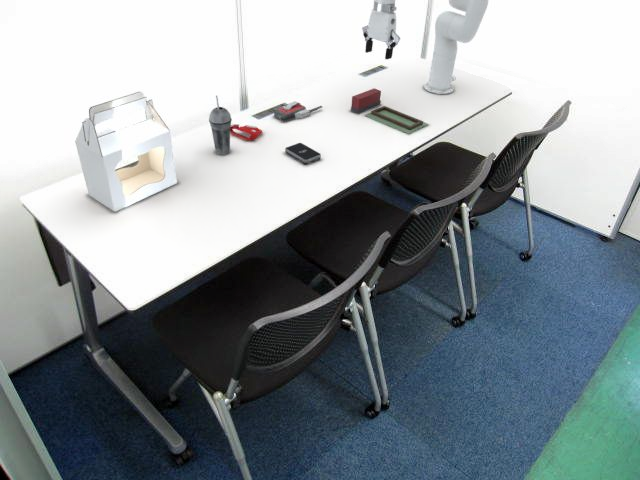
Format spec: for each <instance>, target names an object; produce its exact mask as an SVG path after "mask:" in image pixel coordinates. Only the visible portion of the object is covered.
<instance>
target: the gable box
mask: <svg viewBox="0 0 640 480" xmlns="http://www.w3.org/2000/svg"><path fill="white" fill-rule="evenodd" d="M147 98H148V97H147V96H145V93H143V92H142V91H136V92H134V93H130V94H127V95H124V96H121V97H117V98H115V99H111V100H108V101H105V102H102V103H99V104H95V105H93V106H92V105H91V106H90V107H89V109H88V117H89V118H85V119H84V120H83V121H81V123H82V125H81V127H80V129H79V131H78V133H77V136H76V138H75V141H74V142H75V146H76V151H77V155H78V158H79V162H80V166H81V167H80V168H81V170H82V174H83V179H84V182H85V185H86V190H87V194H88V196H89V197H91V198H92V199H94V200H96V201H97V202H99V203H100V204H102V205H104V207H106V208H108V209H109V210H111V211H112V212H114V213H115V212H116V213H117V212H118V211H120V210H123V209H125V208H127V207H129V206H131V205H133V204H135V203H138V202H140V201H142V200H144V199H147V198H148V197H151V196H153V195H155V194H157V193H159V192H162V191H164V190H166V189H168V188H170V187H172V186H174V185H177V184H178V180H177V179H178V178H177V172H176V164H175V157H174V150H173V144H172V143H173V141H172V136H171V130H170V129H169V127H168V126H167V124H166V123H165V121H164V120H163V119H162V117H161V116H160V114H159V113H158V111H157V110H156V109H155V106H154V101H153V99H151V98H150V99H148V100H147ZM138 110H141V117H137V118H135V119H133V120H129V121H126V122H124V123H120V124H118V125H115V126H113V127H110V128H107V129H103V130H101V131H98V132H97V131H96V125H97V124H100V123H102V122H106V121H109V120H111V119H114V118H117V117H121V116H123V115H125V114H130V113H133V112H135V111H138ZM132 157H133V158H134V157H137V159H138V162H137V163H136V164H135V165H133V166H126V167H125V166H124V167H121V168H118V169H116V168H117V166H118V165H119V163H121V162H123V161H124V160H127V159H129V158H132Z"/></svg>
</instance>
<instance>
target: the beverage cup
mask: <svg viewBox="0 0 640 480" xmlns="http://www.w3.org/2000/svg"><path fill="white" fill-rule="evenodd" d="M215 100H216V106H215V108H213V109H212V110H211V111H210V113H209V117H208V122H209V125H210V126H209V127H210V129H211V134H212V139H213V144H214V150H215V153H216V155H219V156H225V155H228V154H229V153H230V150H231V133H230V126H231V125H232V121H233V120H232V117H231V113H230V112H229V110H228V109H227V108H225V107H223V106H220V104H219V97H218V95H215Z"/></svg>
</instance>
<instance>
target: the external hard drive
mask: <svg viewBox="0 0 640 480" xmlns="http://www.w3.org/2000/svg"><path fill="white" fill-rule="evenodd" d="M284 150H285V151H284V152H285V154H287V155H289V156H290V157H292V158H294V159H295V160H297V161H299V162H300V163H302V164H304V165H308V164H312V163H314V162H317V161H319V160H321V159H322V154H321V153H320V152H319V151H317V150H315V149H313V148H311V147H309V146H308V145H306V144H304V143H303V142H298V143H294V144H292V145H289V146H286V147H285V148H284Z"/></svg>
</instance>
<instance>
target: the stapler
mask: <svg viewBox="0 0 640 480" xmlns="http://www.w3.org/2000/svg"><path fill="white" fill-rule="evenodd" d="M381 96H382V90H380V89H377V88H375V87H374V88H371V89H368V90H366V91H363V92H360V93H357V94H354V95H352V96H351V106H350V112H352V113H354V114H357V115H359V114H361V113H364V112H366V111H369V110H371V109H374V108H377V107H378V106H381V105H382V104H381V103H382V100H381Z"/></svg>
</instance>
